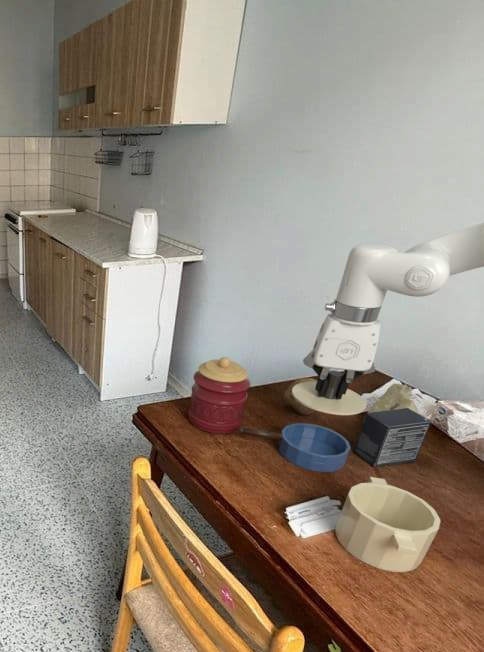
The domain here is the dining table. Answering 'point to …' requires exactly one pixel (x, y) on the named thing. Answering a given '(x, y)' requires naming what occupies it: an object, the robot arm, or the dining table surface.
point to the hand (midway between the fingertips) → (328, 394)
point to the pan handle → (260, 433)
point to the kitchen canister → (218, 396)
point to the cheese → (395, 399)
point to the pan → (314, 447)
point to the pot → (386, 526)
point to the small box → (391, 437)
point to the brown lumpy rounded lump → (293, 402)
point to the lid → (329, 397)
